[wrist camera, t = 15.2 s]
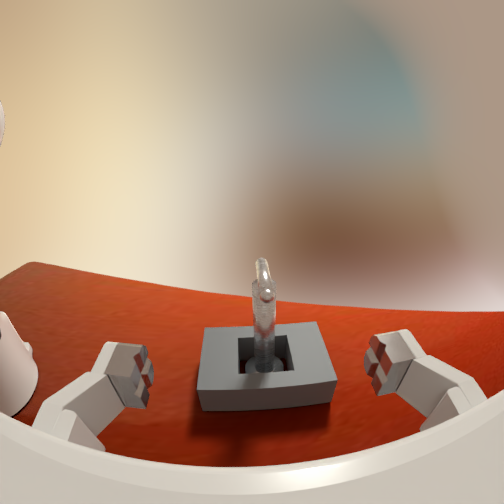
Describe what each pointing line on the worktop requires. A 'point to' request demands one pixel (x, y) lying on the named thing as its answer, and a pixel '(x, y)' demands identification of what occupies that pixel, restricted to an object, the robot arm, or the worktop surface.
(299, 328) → the grey block with hole
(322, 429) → the worktop surface
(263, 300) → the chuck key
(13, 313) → the worktop surface
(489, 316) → the worktop surface
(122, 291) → the worktop surface
